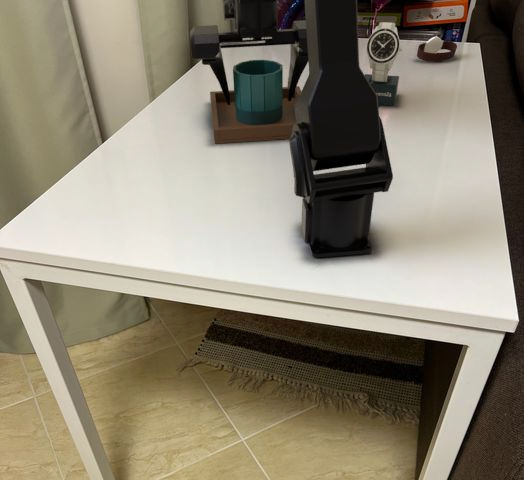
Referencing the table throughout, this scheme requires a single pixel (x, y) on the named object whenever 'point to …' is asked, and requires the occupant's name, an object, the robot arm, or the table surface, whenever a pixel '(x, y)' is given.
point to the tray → (235, 131)
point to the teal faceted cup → (258, 91)
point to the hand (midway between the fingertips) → (259, 102)
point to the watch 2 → (436, 50)
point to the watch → (383, 62)
